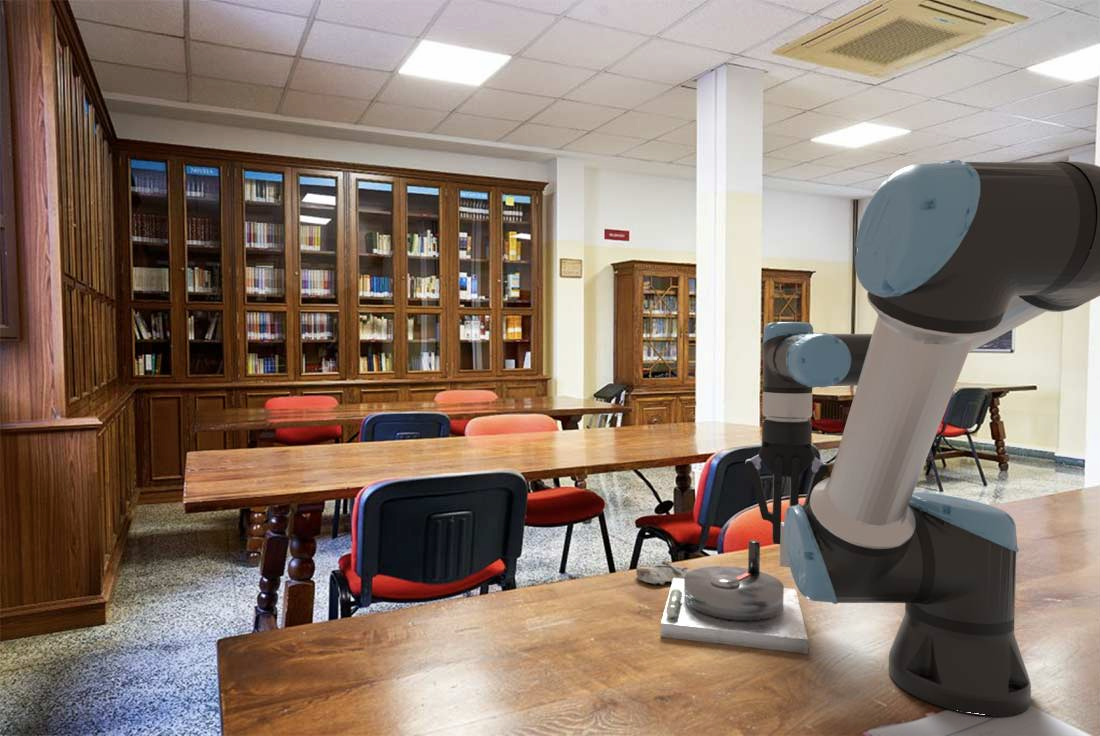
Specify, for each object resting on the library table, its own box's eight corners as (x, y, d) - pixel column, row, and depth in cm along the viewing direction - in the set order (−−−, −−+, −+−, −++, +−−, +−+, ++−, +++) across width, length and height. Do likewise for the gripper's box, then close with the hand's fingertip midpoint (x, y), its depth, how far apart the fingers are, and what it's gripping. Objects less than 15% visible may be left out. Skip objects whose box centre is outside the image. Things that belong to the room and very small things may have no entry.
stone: (672, 570, 128) (672, 556, 128) (697, 582, 121) (697, 567, 121) (629, 578, 124) (629, 564, 124) (653, 591, 117) (653, 575, 117)
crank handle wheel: (786, 625, 97) (787, 569, 96) (680, 613, 101) (680, 560, 100) (780, 588, 111) (781, 540, 111) (687, 580, 115) (687, 533, 115)
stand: (807, 653, 93) (808, 626, 93) (660, 636, 98) (661, 610, 98) (795, 601, 112) (795, 578, 112) (673, 589, 117) (673, 567, 117)
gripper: (827, 417, 110) (825, 560, 111) (744, 414, 114) (742, 553, 115) (833, 422, 103) (830, 575, 104) (744, 419, 107) (742, 567, 107)
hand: (784, 563), depth 109 cm, fingers closed
